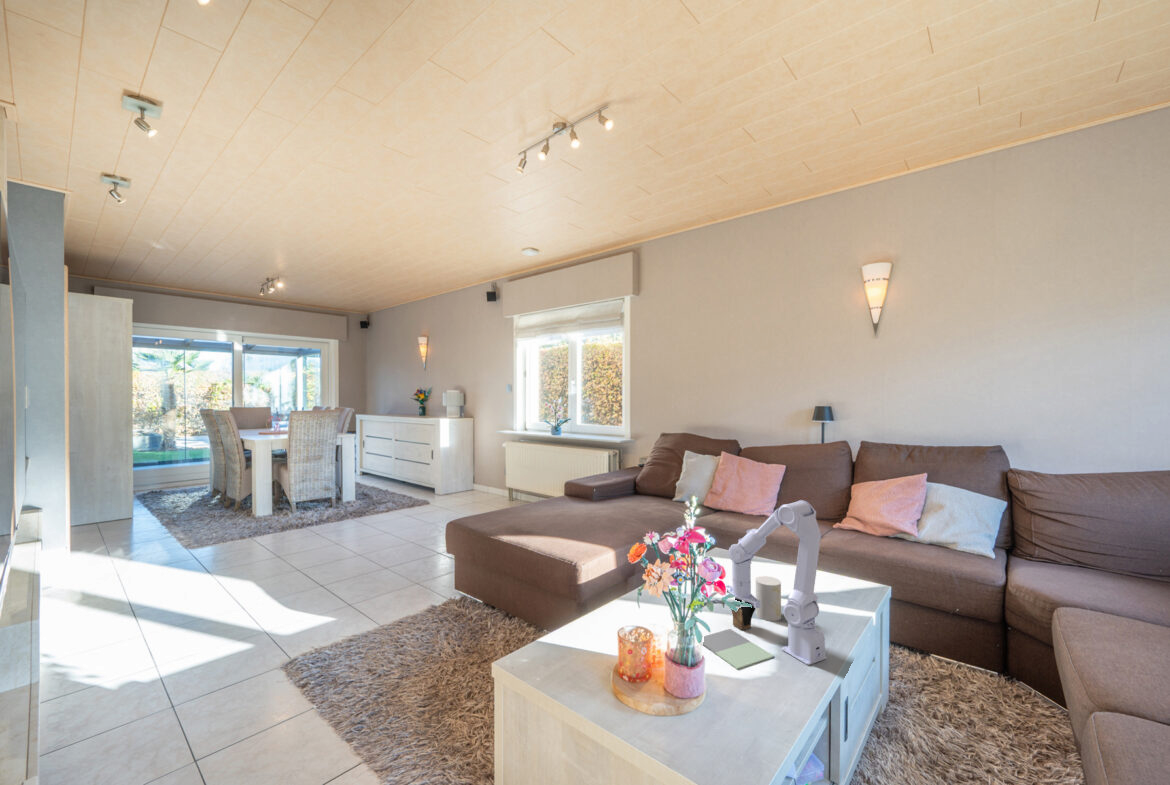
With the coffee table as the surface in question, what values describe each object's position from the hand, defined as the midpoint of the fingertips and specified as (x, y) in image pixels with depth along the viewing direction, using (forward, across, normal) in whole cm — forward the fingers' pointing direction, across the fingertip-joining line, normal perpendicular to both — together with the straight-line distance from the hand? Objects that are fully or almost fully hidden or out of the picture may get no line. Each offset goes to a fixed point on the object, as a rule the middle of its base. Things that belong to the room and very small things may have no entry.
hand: (741, 621), depth 158 cm
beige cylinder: (+2, -2, +14) cm, 14 cm away
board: (+2, +9, -12) cm, 15 cm away
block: (+1, 0, 0) cm, 1 cm away
